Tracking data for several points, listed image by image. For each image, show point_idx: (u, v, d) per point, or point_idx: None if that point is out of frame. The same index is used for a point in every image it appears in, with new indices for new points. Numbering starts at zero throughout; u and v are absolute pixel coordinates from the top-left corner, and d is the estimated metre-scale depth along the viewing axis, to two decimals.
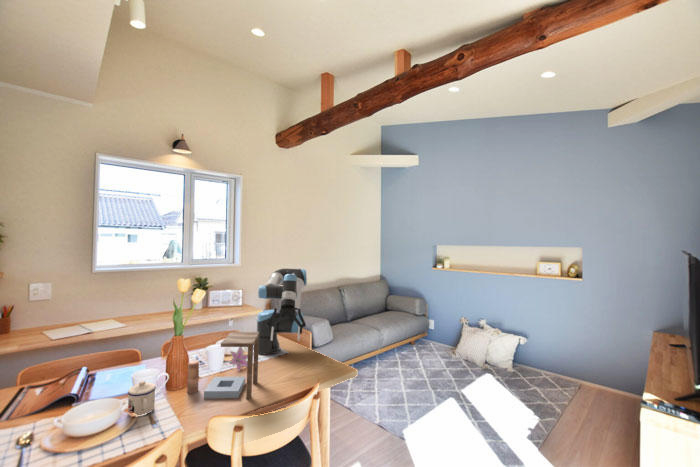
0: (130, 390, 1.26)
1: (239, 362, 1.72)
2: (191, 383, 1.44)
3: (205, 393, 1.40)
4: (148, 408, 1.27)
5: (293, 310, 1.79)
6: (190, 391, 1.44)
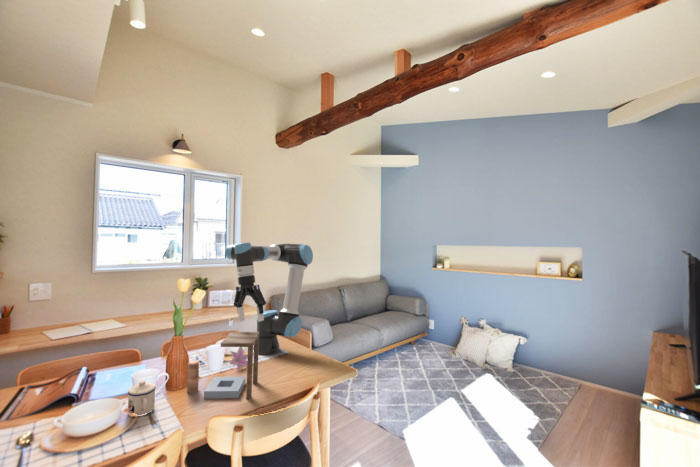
0: (130, 390, 1.26)
1: (239, 362, 1.72)
2: (191, 383, 1.44)
3: (205, 393, 1.40)
4: (148, 408, 1.27)
5: (250, 287, 1.55)
6: (190, 391, 1.44)
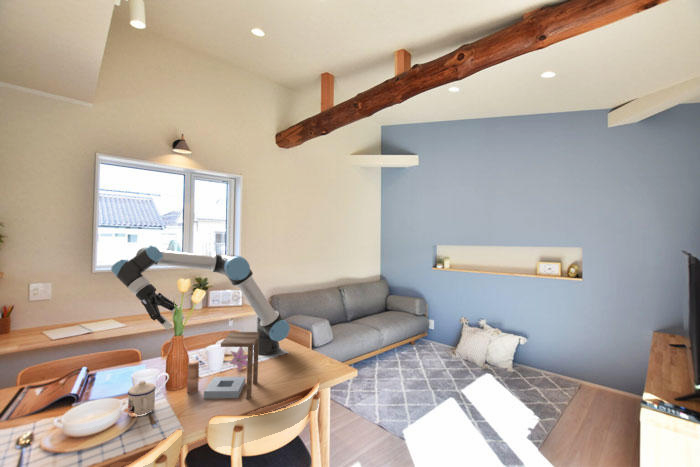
0: (130, 390, 1.26)
1: (239, 362, 1.72)
2: (191, 383, 1.44)
3: (205, 393, 1.40)
4: (148, 408, 1.27)
5: None
6: (190, 391, 1.44)
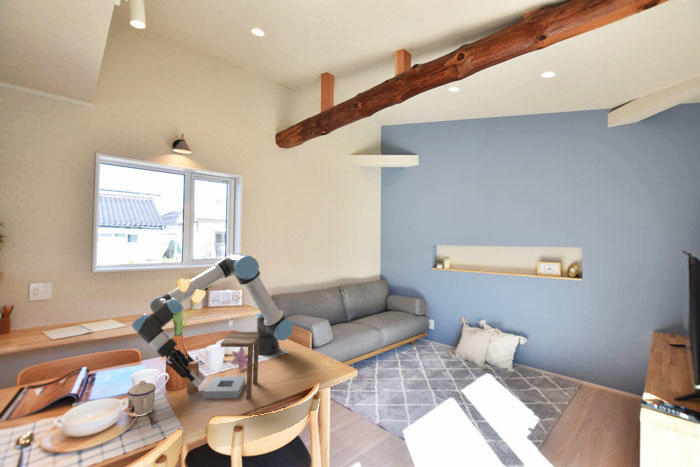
0: (130, 390, 1.26)
1: (240, 362, 1.72)
2: (191, 383, 1.44)
3: (205, 393, 1.40)
4: (148, 408, 1.27)
5: None
6: (190, 391, 1.44)
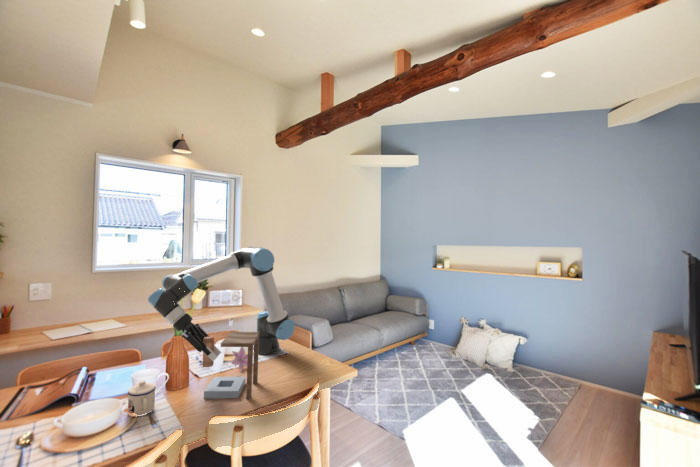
0: (130, 390, 1.26)
1: (241, 362, 1.72)
2: (207, 357, 1.45)
3: (205, 393, 1.40)
4: (148, 408, 1.27)
5: None
6: (206, 365, 1.45)
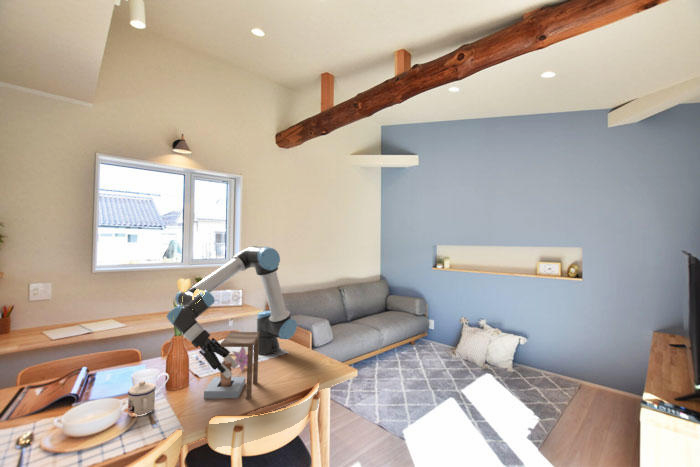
0: (130, 390, 1.26)
1: (242, 362, 1.72)
2: (225, 382, 1.46)
3: (205, 393, 1.40)
4: (148, 408, 1.27)
5: None
6: None
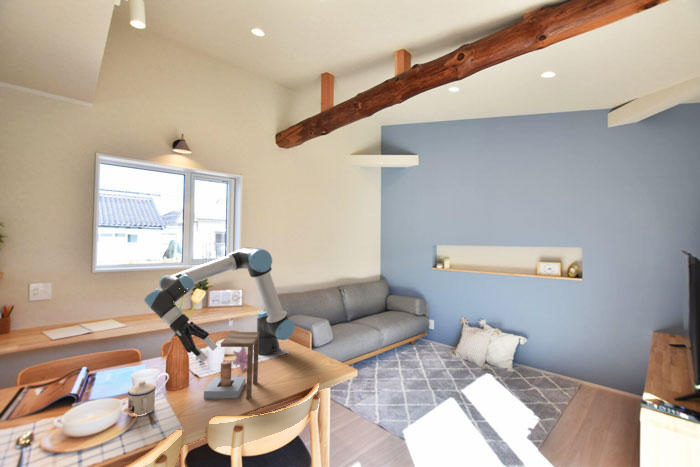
0: (130, 390, 1.26)
1: (242, 362, 1.72)
2: (225, 382, 1.46)
3: (205, 393, 1.40)
4: (148, 408, 1.27)
5: None
6: None
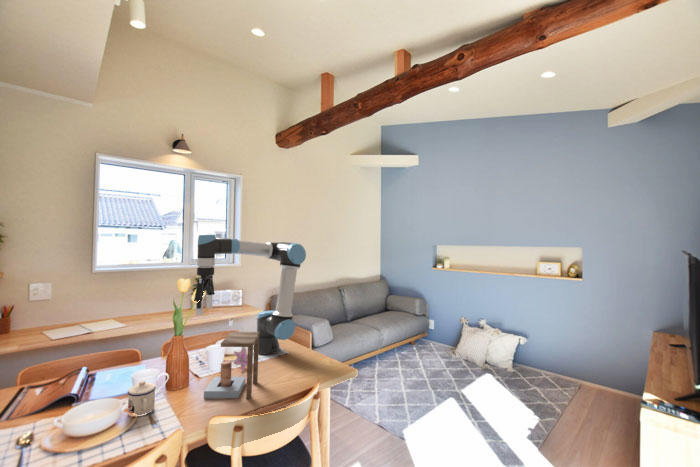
0: (130, 390, 1.26)
1: (243, 362, 1.72)
2: (225, 382, 1.46)
3: (205, 393, 1.40)
4: (148, 408, 1.27)
5: None
6: None
